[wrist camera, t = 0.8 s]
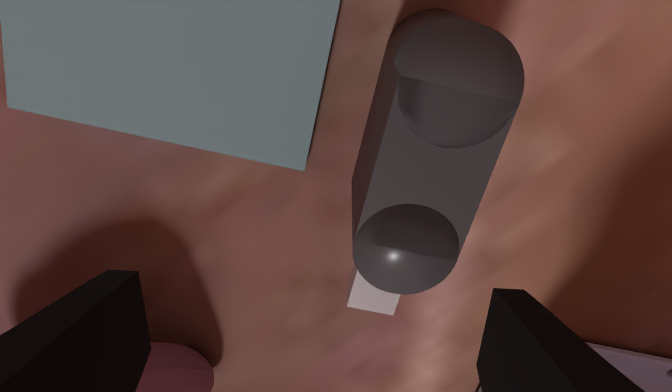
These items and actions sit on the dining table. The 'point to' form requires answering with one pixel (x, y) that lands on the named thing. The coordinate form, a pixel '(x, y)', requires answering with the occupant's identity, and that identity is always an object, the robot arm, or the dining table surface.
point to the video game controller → (175, 370)
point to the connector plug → (428, 152)
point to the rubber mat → (175, 69)
